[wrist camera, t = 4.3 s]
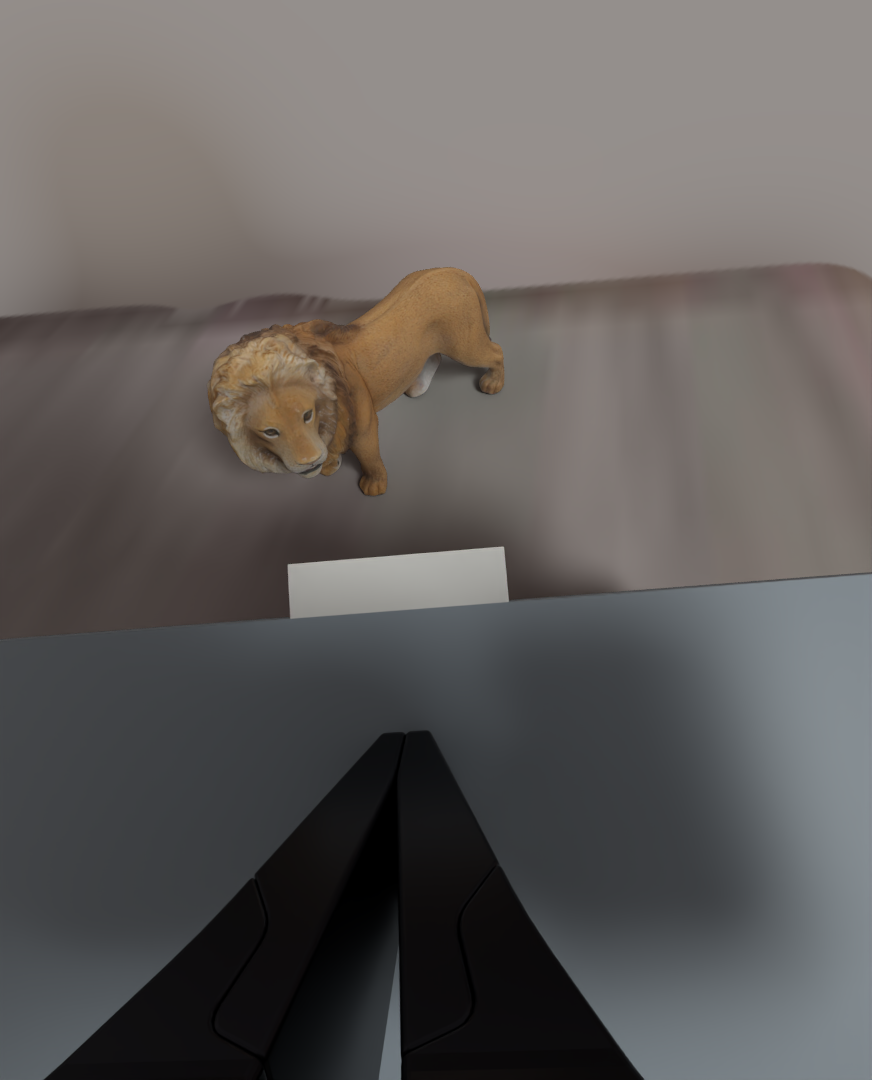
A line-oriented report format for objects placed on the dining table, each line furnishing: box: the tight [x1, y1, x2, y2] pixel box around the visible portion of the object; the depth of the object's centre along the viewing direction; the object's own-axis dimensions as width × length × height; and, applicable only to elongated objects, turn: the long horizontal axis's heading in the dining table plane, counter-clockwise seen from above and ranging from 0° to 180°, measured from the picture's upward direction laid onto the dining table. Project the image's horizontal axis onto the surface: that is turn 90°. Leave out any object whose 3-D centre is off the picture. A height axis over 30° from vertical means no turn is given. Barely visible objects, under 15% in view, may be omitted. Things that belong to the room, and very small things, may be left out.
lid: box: [0, 547, 872, 1080], centre depth 9 cm, size 13×18×1 cm
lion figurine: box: [207, 267, 504, 496], centre depth 20 cm, size 15×5×9 cm, turn 144°
